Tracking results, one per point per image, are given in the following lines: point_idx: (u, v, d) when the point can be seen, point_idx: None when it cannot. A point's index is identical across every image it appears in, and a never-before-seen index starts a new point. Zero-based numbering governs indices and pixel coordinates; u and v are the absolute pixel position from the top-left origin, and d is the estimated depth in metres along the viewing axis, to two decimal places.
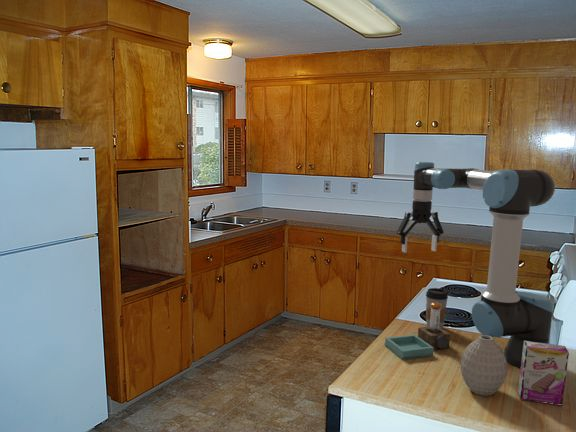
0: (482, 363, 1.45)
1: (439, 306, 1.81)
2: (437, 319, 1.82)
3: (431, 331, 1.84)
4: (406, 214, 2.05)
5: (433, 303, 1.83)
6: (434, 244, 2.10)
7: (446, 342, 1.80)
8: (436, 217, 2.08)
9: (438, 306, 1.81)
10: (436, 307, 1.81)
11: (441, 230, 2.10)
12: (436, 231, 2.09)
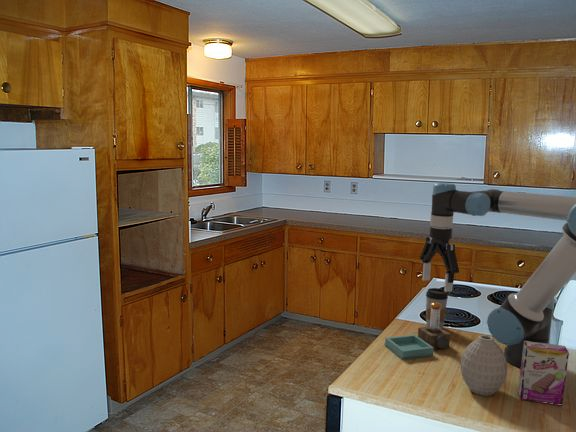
0: (482, 363, 1.45)
1: (439, 306, 1.81)
2: (437, 319, 1.82)
3: (431, 331, 1.84)
4: None
5: (433, 303, 1.83)
6: None
7: (446, 342, 1.80)
8: (447, 250, 1.73)
9: (438, 306, 1.81)
10: (436, 307, 1.81)
11: (451, 268, 1.72)
12: (447, 267, 1.74)
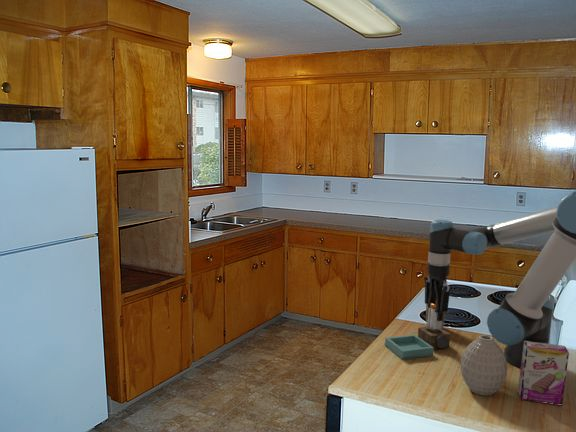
0: (482, 363, 1.45)
1: None
2: None
3: (431, 331, 1.84)
4: None
5: (433, 303, 1.83)
6: None
7: (446, 342, 1.80)
8: (442, 291, 1.77)
9: None
10: None
11: (440, 307, 1.78)
12: (437, 306, 1.80)
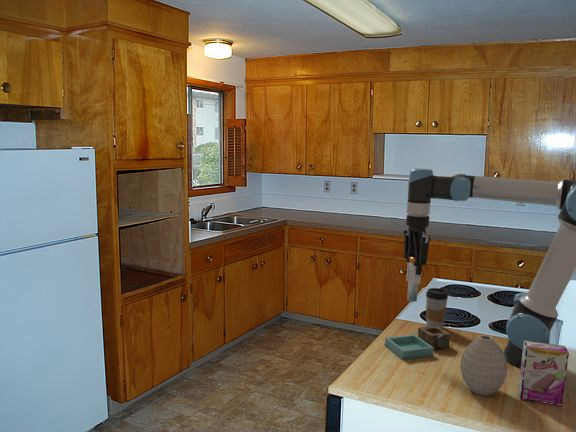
0: (482, 363, 1.45)
1: None
2: None
3: (410, 286, 1.75)
4: None
5: (412, 257, 1.74)
6: None
7: (446, 342, 1.80)
8: (421, 242, 1.68)
9: None
10: None
11: (419, 260, 1.69)
12: (416, 259, 1.71)
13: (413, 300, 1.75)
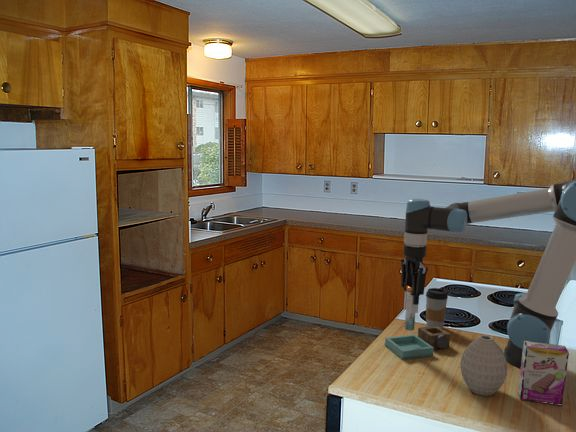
0: (482, 363, 1.45)
1: None
2: None
3: (407, 315, 1.76)
4: None
5: (409, 286, 1.75)
6: None
7: (446, 342, 1.80)
8: (418, 273, 1.69)
9: None
10: None
11: (416, 290, 1.70)
12: (413, 289, 1.72)
13: (410, 329, 1.76)
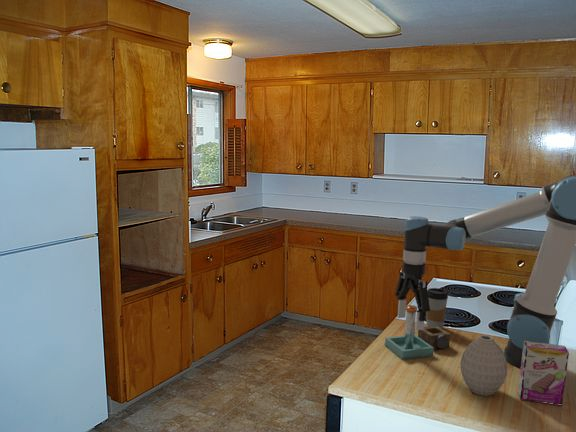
0: (482, 363, 1.45)
1: (414, 309, 1.75)
2: (412, 323, 1.76)
3: (406, 335, 1.77)
4: None
5: (408, 306, 1.76)
6: None
7: (446, 342, 1.80)
8: (419, 288, 1.69)
9: (413, 310, 1.74)
10: (411, 310, 1.75)
11: (422, 307, 1.68)
12: (418, 305, 1.70)
13: None
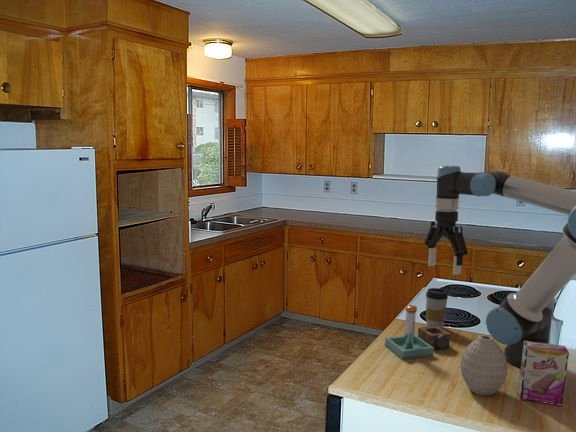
0: (482, 363, 1.45)
1: (414, 309, 1.75)
2: (412, 323, 1.76)
3: (406, 335, 1.77)
4: None
5: (408, 306, 1.76)
6: None
7: (446, 342, 1.80)
8: (455, 233, 1.72)
9: (413, 310, 1.75)
10: (411, 310, 1.75)
11: (460, 250, 1.70)
12: (455, 250, 1.72)
13: None
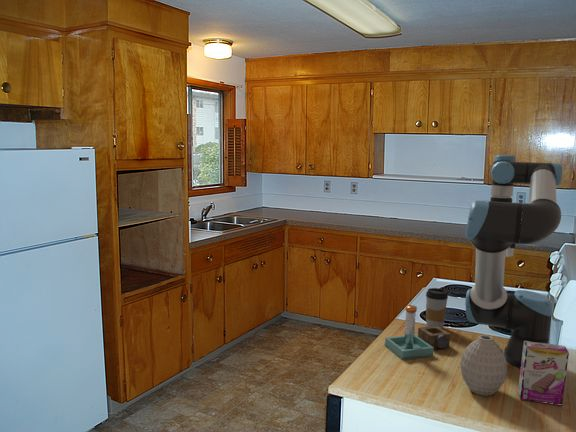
0: (482, 363, 1.45)
1: (414, 309, 1.75)
2: (412, 323, 1.76)
3: (406, 335, 1.77)
4: None
5: (408, 306, 1.76)
6: None
7: (446, 342, 1.80)
8: None
9: (413, 310, 1.75)
10: (411, 310, 1.75)
11: None
12: None
13: None
